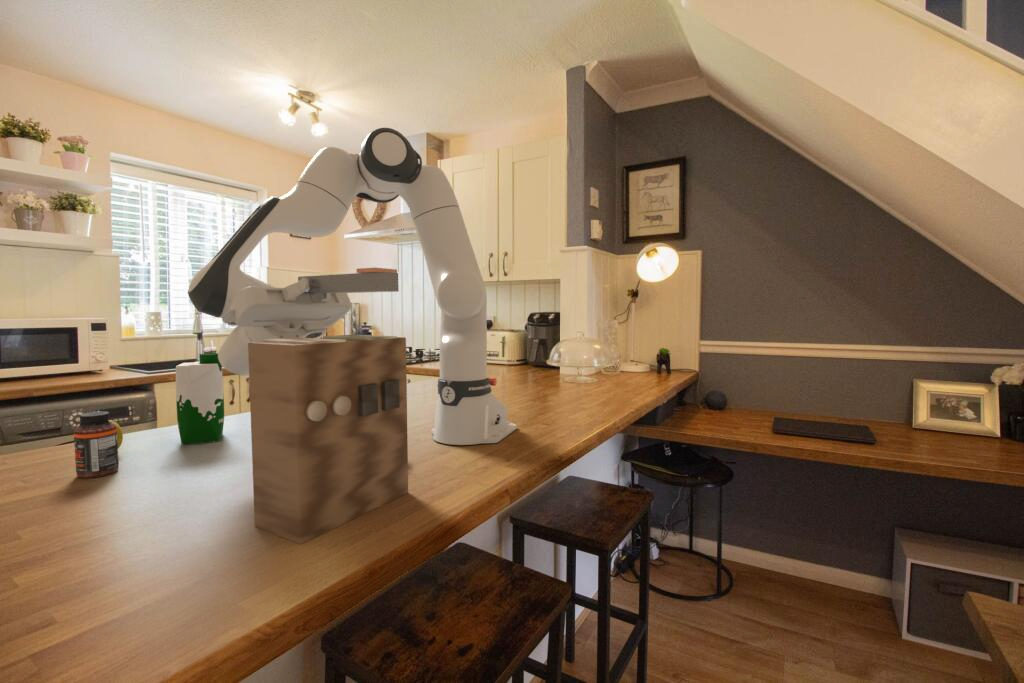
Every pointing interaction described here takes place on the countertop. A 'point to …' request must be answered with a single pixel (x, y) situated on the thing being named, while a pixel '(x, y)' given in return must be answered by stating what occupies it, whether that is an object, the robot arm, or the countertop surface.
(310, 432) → the panel block
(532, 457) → the countertop surface
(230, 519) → the countertop surface
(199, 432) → the milk carton
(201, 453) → the countertop surface
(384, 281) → the paddle lever
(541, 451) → the countertop surface
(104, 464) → the supplement bottle
